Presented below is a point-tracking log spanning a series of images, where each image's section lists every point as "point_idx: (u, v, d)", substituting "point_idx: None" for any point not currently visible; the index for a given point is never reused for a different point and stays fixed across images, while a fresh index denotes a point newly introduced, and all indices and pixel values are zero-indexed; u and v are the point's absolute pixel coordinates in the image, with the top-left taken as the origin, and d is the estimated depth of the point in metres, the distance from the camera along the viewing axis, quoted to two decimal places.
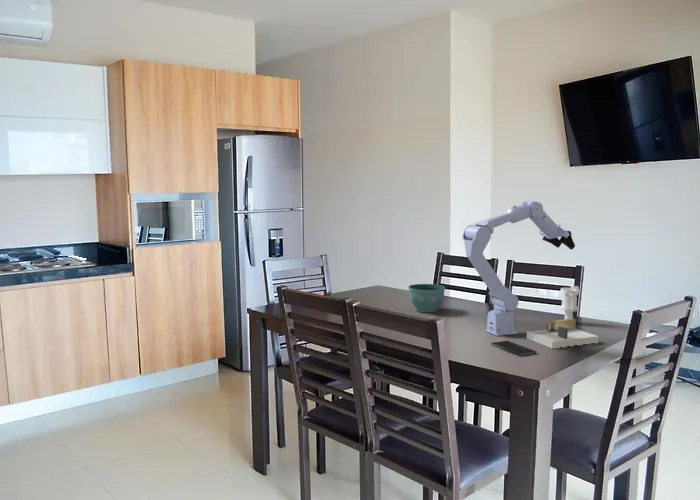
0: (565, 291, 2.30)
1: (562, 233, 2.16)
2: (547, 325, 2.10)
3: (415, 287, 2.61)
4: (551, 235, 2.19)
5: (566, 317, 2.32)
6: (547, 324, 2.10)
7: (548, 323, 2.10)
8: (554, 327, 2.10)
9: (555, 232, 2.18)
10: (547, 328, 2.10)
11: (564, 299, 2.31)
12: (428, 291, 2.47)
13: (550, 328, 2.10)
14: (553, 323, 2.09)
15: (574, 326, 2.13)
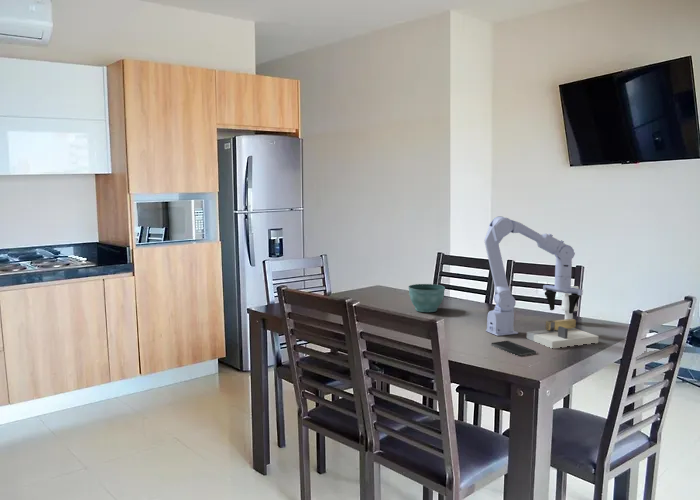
0: None
1: None
2: (547, 325, 2.10)
3: (415, 287, 2.61)
4: (564, 287, 2.12)
5: (566, 317, 2.32)
6: (547, 324, 2.10)
7: (548, 323, 2.10)
8: (554, 327, 2.10)
9: (569, 287, 2.13)
10: (547, 328, 2.10)
11: (564, 299, 2.31)
12: (428, 291, 2.47)
13: (550, 328, 2.10)
14: (553, 323, 2.09)
15: (574, 326, 2.13)
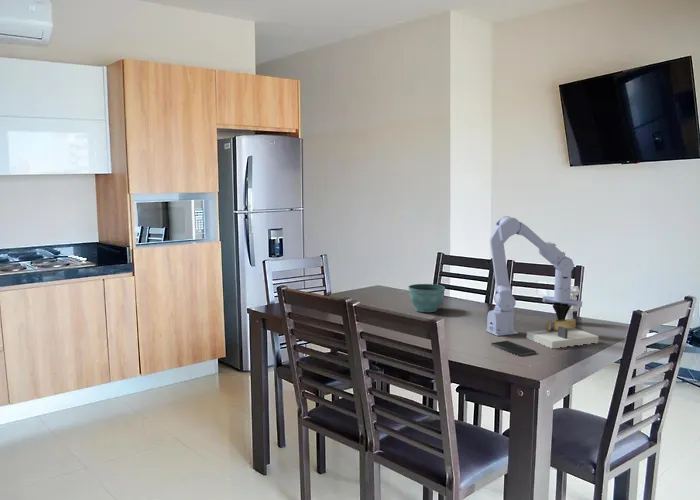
0: None
1: (576, 302, 2.12)
2: (547, 325, 2.10)
3: (415, 287, 2.61)
4: (564, 299, 2.13)
5: (566, 317, 2.32)
6: (547, 324, 2.10)
7: (548, 323, 2.10)
8: (554, 327, 2.10)
9: (568, 298, 2.13)
10: (547, 328, 2.10)
11: None
12: (428, 291, 2.47)
13: (550, 328, 2.10)
14: (553, 323, 2.09)
15: (574, 326, 2.13)
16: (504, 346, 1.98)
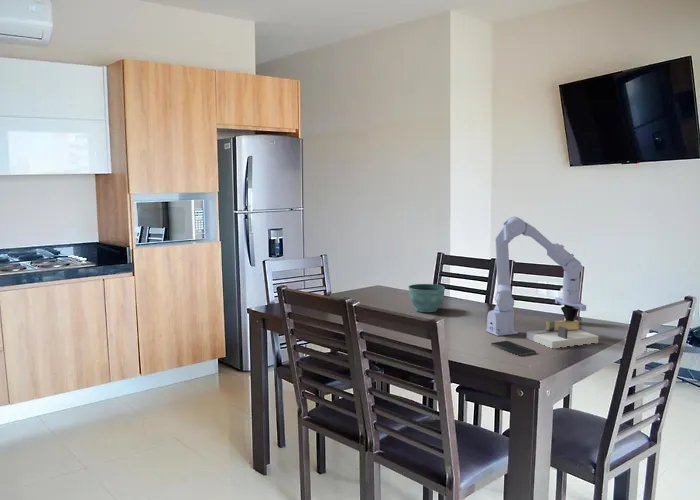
0: None
1: None
2: (546, 325, 2.11)
3: (415, 287, 2.61)
4: (568, 301, 2.10)
5: None
6: (546, 324, 2.10)
7: (547, 323, 2.10)
8: (554, 327, 2.10)
9: (574, 301, 2.10)
10: (546, 328, 2.11)
11: None
12: (428, 291, 2.47)
13: (549, 327, 2.10)
14: (553, 323, 2.09)
15: (577, 328, 2.11)
16: (504, 346, 1.98)
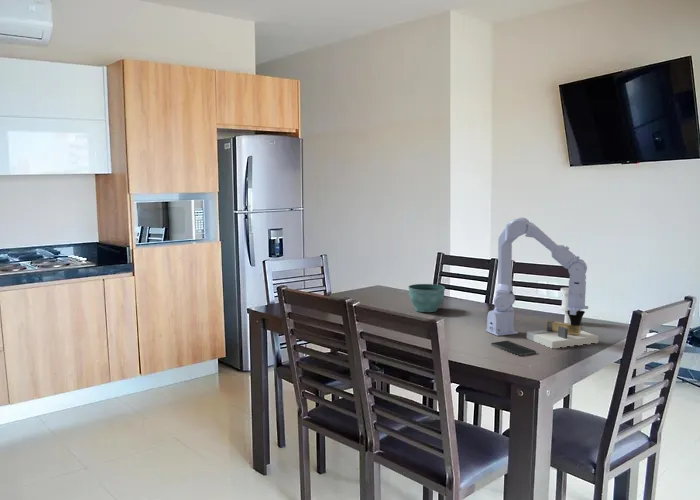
0: (565, 291, 2.30)
1: (573, 309, 2.01)
2: None
3: (415, 287, 2.61)
4: (569, 304, 2.05)
5: (566, 317, 2.32)
6: None
7: None
8: (551, 327, 2.09)
9: (573, 305, 2.04)
10: None
11: (564, 299, 2.31)
12: (428, 291, 2.47)
13: (547, 327, 2.11)
14: (549, 323, 2.09)
15: (577, 333, 2.04)
16: (504, 346, 1.98)
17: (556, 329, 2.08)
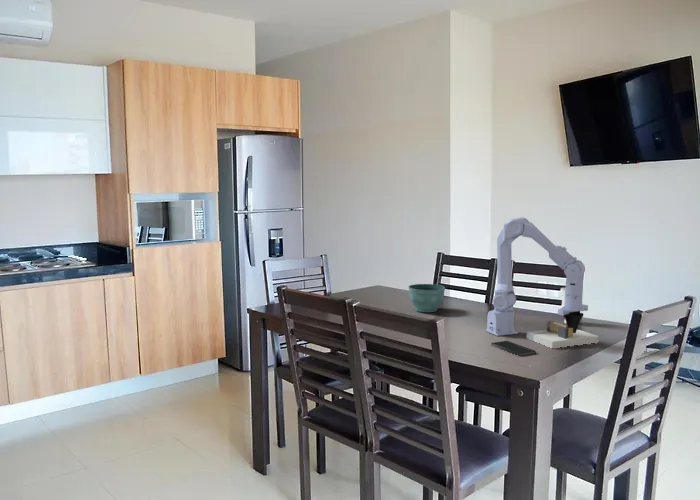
0: None
1: None
2: None
3: (415, 287, 2.61)
4: None
5: None
6: None
7: None
8: (549, 327, 2.10)
9: (567, 306, 2.02)
10: None
11: (564, 299, 2.31)
12: (428, 291, 2.47)
13: (546, 326, 2.11)
14: (548, 322, 2.10)
15: (567, 335, 2.01)
16: (504, 346, 1.98)
17: (553, 329, 2.08)
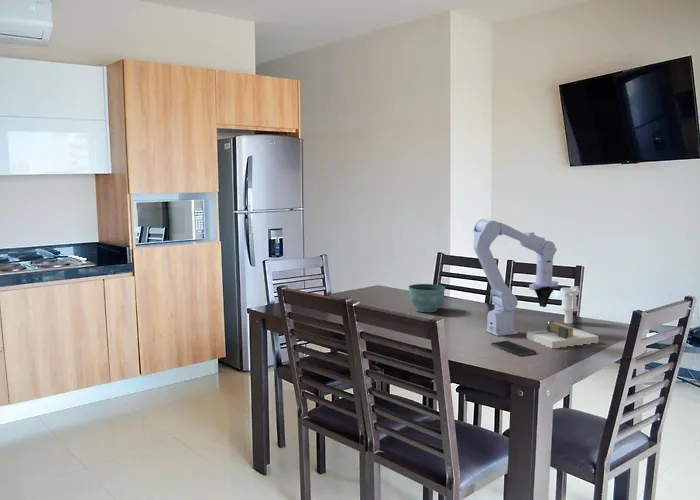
0: (565, 291, 2.30)
1: None
2: None
3: (415, 287, 2.61)
4: (536, 281, 2.20)
5: (566, 317, 2.32)
6: None
7: None
8: (549, 327, 2.10)
9: (537, 281, 2.18)
10: None
11: (564, 299, 2.31)
12: (428, 291, 2.47)
13: (546, 326, 2.11)
14: (548, 322, 2.10)
15: (567, 335, 2.01)
16: (504, 346, 1.98)
17: (553, 329, 2.08)
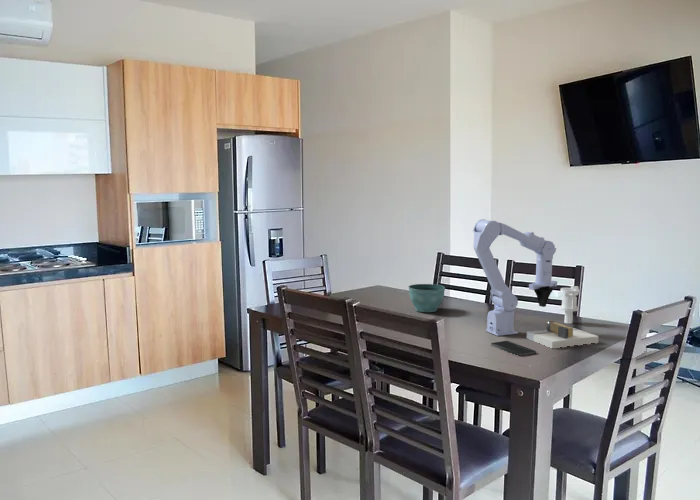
0: (565, 291, 2.30)
1: None
2: None
3: (415, 287, 2.61)
4: None
5: (566, 317, 2.32)
6: None
7: None
8: (549, 327, 2.10)
9: (537, 281, 2.19)
10: None
11: (564, 299, 2.31)
12: (428, 291, 2.47)
13: (546, 326, 2.11)
14: (548, 322, 2.10)
15: (567, 335, 2.01)
16: (504, 346, 1.98)
17: (553, 329, 2.08)
